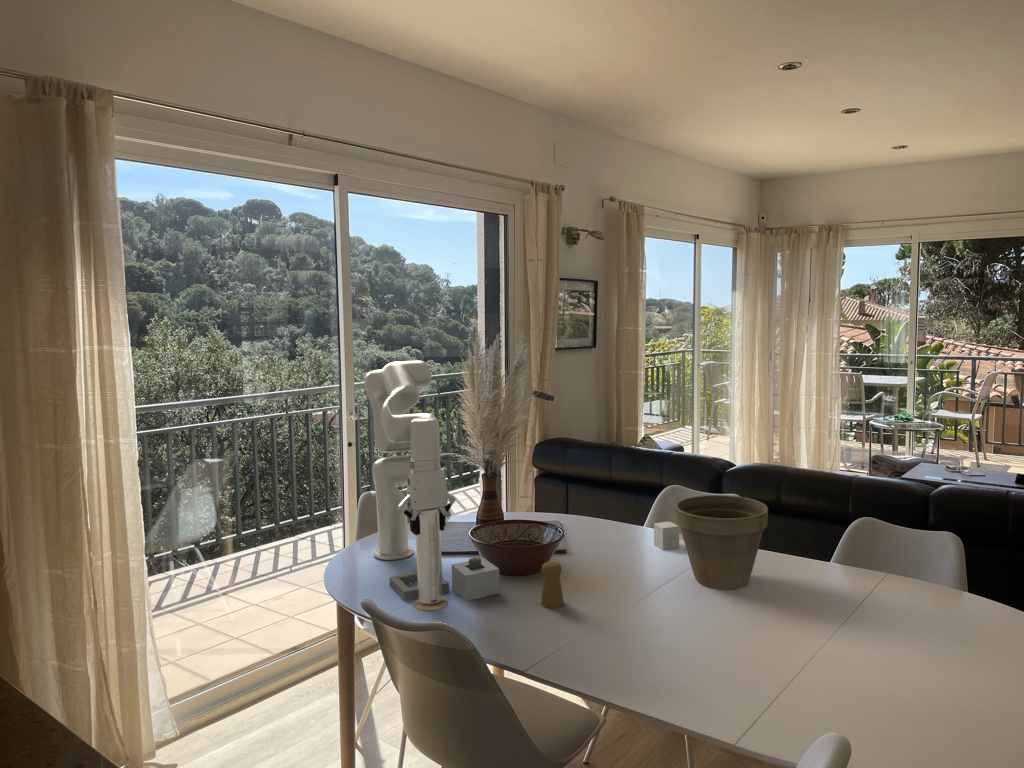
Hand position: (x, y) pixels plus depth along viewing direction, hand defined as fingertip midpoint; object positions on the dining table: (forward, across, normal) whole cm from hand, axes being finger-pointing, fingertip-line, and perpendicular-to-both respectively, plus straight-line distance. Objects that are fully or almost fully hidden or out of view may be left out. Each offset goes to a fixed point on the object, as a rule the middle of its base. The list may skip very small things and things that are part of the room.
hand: (428, 530), depth 192 cm
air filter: (+19, 0, 0) cm, 19 cm away
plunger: (+15, +14, +2) cm, 21 cm away
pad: (+20, 0, 0) cm, 20 cm away
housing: (+20, +14, +2) cm, 24 cm away
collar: (+20, +1, +12) cm, 23 cm away
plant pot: (+20, +77, -26) cm, 84 cm away
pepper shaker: (+20, +28, -16) cm, 38 cm away
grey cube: (+20, +83, +5) cm, 86 cm away
